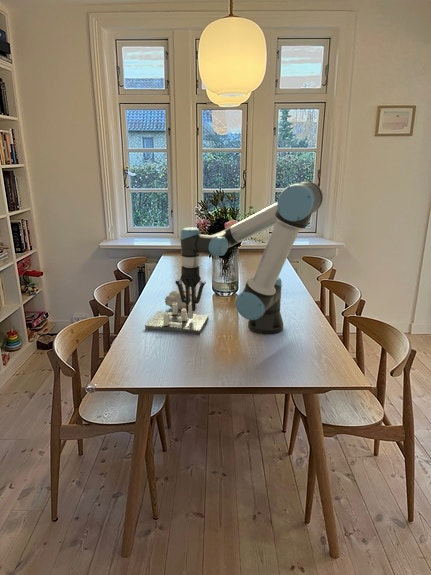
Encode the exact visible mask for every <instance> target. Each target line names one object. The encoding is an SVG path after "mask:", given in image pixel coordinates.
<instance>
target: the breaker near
mask: <svg viewBox="0 0 431 575" xmlns="http://www.w3.org/2000/svg"><path fill="white" fill-rule="evenodd" d="M163 320H164V325H167V326H168V325H169V323H170V321H169V313H164V314H163Z"/></svg>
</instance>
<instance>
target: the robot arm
mask: <svg viewBox="0 0 431 575" xmlns="http://www.w3.org/2000/svg"><path fill="white" fill-rule="evenodd" d="M323 199H324V195H323V191H322V189H321V188H320V186H318V185H317V183H314V182H313V181H312V182H311V181H302V182H298V183H297V182H295V183H292V184H290V185H288V186H287V187H285V188H284V189H283V190H281V192H280V193H279V194H278V197H277V201H276V202H275V203H273V204H271V205H270V206H267V207H266V208H263V209H262V210H259V211H258V212H256V213H254V214H251V215H249V217H247V218H245V219H242V220H240V221H239V222H236V223H235V224H233V225H231V226H229V227H227V228H225V229H222V230H221V231H218V232H216V233H213V234H202V233H200V229H199V228H198V227H193V226H188V227H183V228H182V229H181V230H180V264H181V266H180V268H181V269H180V271H181V272H180V275H181V276H180V278H178V279H177V280H175V282H174V283H175V284H176V286H177V288H178V291H179V293H180V297H181V300H182V302H184V303H186V310H187V314H188V315H189V319H192V318H193V317H194V312H195V311H196V307H197V306H196V305H197V304H199V303H200V301H201V298H202V295H203V289H204V286H205V285H206V283H207V282H206V281H204V280H202V279H201V276H200V254H203V255H204V254H205V255H212V256H214V257H215V256H216V257H218V256H220V257H221V256H225V254H226V253H227V252H228V249H229V248H231V247H234V246H235V245H237V244H239V243H242V242H243V241H246V240H247V239H250V238H251V237H253V236H255V235H258V234H259V233H262V232H264V231H266V230H269V229H270V228H272V227H273V230H272V232H271V235H270V236H269V239H268V241H267V244H266V246H265V248H264V251H263V253H262V256H261V257H260V260H259V262H258V264H257V267H256V269H255V272H254V274H253V276H252V277H250V278H248V279H247V281H246V283H245V285H244V287H243V289H242V291H241V292H240V293H239V294H238V295H237V298H236V300H235V308H236V310H237V312H238V314H239V315H240V316H241V317H242V318H244V319H246V320H248V321H247V328H248V329H249V331H251V332H252V333H255V334H259V335H264V336H265V335H268V336H269V335H276V334H279V333H281V332H282V331H283V330H284V322H283V321H284V320H283V318H282V314H281V313H282V312H281V300H282V287H283V285H282V283H283V282H282V279H281V278H280V277H279V276H280V274H281V272H282V270H283V267H284V266H285V263H286V261H287V258H288V256H289V255H290V252H291V250H292V248H293V246H294V244H295V241H296V239H297V237H298V234H299V232H300V231H303V230H305V229H306V227H307V226H308V224H309V221H310V219H311V217H312V215H313V214H314V213H316V212H317V211H319V209H320V208H321V206H322V203H323ZM198 284H199V288H198V292H197V291H196V290H197V285H198ZM183 285H184V287H183ZM184 288H185V290H184ZM184 291H186V297H185V293H184ZM190 294H191V295H192V302H190ZM196 297H197V299H196Z"/></svg>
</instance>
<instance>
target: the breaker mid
mask: <svg viewBox="0 0 431 575" xmlns="http://www.w3.org/2000/svg"><path fill="white" fill-rule="evenodd" d="M180 311H181V312H180V313H181V318H182V321H186V320H187V314H188V311H187V310H186V309H184V308H183V309H182V310H180Z"/></svg>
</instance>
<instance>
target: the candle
mask: <svg viewBox="0 0 431 575" xmlns="http://www.w3.org/2000/svg"><path fill="white" fill-rule="evenodd" d="M184 293H185V297H186V290H184ZM196 299H197V296H196ZM164 300H165V301H164V302H165V305H166V306H168V307H170V309H172V304H173V303H178V311H181V310H182V309H183V308H184V309H186V303H184V302H182V300H181V297H180V293H179V290H173V291H171V292H169V293H168V295H166V296H165V299H164ZM190 302H192V293H190Z"/></svg>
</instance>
